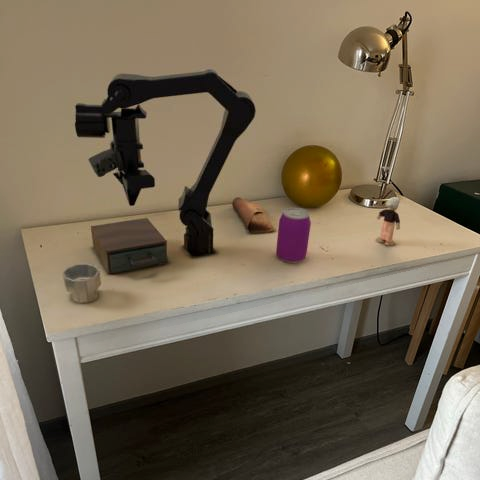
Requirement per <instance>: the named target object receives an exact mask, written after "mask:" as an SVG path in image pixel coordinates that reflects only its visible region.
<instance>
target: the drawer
mask: <svg viewBox="0 0 480 480" xmlns="http://www.w3.org/2000/svg"><path fill="white" fill-rule="evenodd" d="M109 256H110V265H111V271H112V274H115V273H114V272H118V273H121V272H120V271H123V272H126V271H125V270H128V271H131V270H130V269H133V270H136V269H135V268H138V269H142V268H141V267H144V268H147V267H146V266H149V267H152V266H151V265H154V266H157V265H156V264H159V265H162V264H161V263H164V264H168V263H167V262H168V253H167V254H166V246H165V245H156V246H150V247H144V248H139V249H133V250H127V251H121V252H116V253H110V254H109Z"/></svg>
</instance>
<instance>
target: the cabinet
mask: <svg viewBox="0 0 480 480" xmlns="http://www.w3.org/2000/svg"><path fill="white" fill-rule="evenodd" d="M90 232H91V239H92V248H93V250H94V251H95V253H96V255H97V257H98V258H99V260H100V262H101V263H102V265H103V267H104V268H105V270H106V272H107V274H108V275H112V274H117V273H122V272H127V271H128V272H129V271H132V270H138V269H139V268H135V269H130V270H125V271H120V272H114V273H112V271H111V265H110V256H109V254H110V253H116V252H121V251H127V250H133V249H139V248H144V247H150V246H156V245H165V246H166V254H167V255H168V241H167V240H166V238H165V237H164V236H163V234H161V232H160V231H159V230H158V228H157V227H155V225H154V224H153V223H152V221H150V220H149V218H148V217H143V218H136V219H129V220H123V221H116V222H110V223H104V224H103V223H102V224H95V225H91V226H90ZM168 263H169V262H168V261H167V263H166V264H168ZM158 265H165V263H161V264H156V265H151V266H146V267H141V268H140V269H143V268H149V267H153V266H154V267H155V266H158Z"/></svg>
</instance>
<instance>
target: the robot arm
mask: <svg viewBox="0 0 480 480" xmlns="http://www.w3.org/2000/svg"><path fill="white" fill-rule="evenodd" d="M106 90H107V91H106V92H107V97H106V98H104V99H103V101H102V102H101V104H86V103H83V102H82V103H81V102H77V103H76V104H75V105H74V107H75V122H74V130H75V133H76V137H77V138H82V139H83V138H86V139H88V138H91V139H105V138H106V135H107V134H110V132H112V140H111V141H110V143H109V148H108V149H105V150H103V151H101V152H99V153H97V154H95V155H92V156H91V157H89V158H88V162H89V165H90V167H91V168H92V170H93V172H94V174H96V176H97V177H98V178H102V177H104V176H106V174H108V173H111V172H113V171H114V170H115V171H116V172H113V173H112V175H113V176H114V177H115V178H116V180H117V181H118V182H119V183H120V184H121V185H122V189H123V191H124V194H125V197H126V200H127V203H128V206H130V207H133V206H135V205H136V203H137V200H138V198H139V195H140V193H141V191H142V190H144V189H152V188H155V187H156V181H155V179H156V178H155V177H154V176H153V174H151V173H150V172H149V171H148V170H147V169H144V168H145V163H144V162H143V161H142V155H141V152H142V151H141V150H144V147H143V146H144V145H143V144H142V143H141V141H140V140H141V139H140V125H139V124H140V123H139V119H141V120H142V119H143V120H145V119H146V118H147V116H148V112H147V111H146V110H145V109H143V107H142V106H141V104H143V103H145V102H148V101H150V100H153V99H158V98H168V97H169V98H170V97H177V96H186V95H194V94H204V93H208V94H209V95H210V96H211V97H212V98H214V100H215V101H216V102H217V103H219V104H220V105H221V106H222V108H223V109H224V112H223V116H222V119H221V120H222V121H221V126H220V129H219V131H218V134H217V136H216V137H215V140H214V142H213V145H212V147H211V148H210V151H209V153H208V155H207V157H206V159H205V161H204V164H203V165H202V168H201V170H200V172H199V174H198V176H197V179H196V181H195V182H194V183H193V185H192V186H191V187H188V186H186V185H185V186H184V188H183V192H182V194H181V196H180V197H179V198H178V211H179V220H180V222H181V223H182V224H183V226H185V232H184V234H183V248H184V250H185V251H186V252H187V253H188V254H189V256H191V257H192V258H198V257H204V256H208V255H213V254H217V251H216V249H214V227H213V224H212V214H211V213H210V211H209V210H207V207H208V203H209V198H210V195H211V192H212V190H213V189H214V186H215V184H216V182H217V180H218V178H219V176H220V173H221V171H222V169H223V168H224V165H225V164H226V162H227V160H228V157H229V155H230V153H231V151H232V149H233V147H234V145H235V143H236V141H237V140H238V139H239V138H240V137H241V136H242V135H243V134H244V133H245V132H246V130H247V129H248V127H249V125H251V123H252V122H253V120H254V119H255V117H256V114H257V113H256V112H257V110H256V105H255V103H254V101H253V99H252V97H251V96H250V94H248V93H247V92H246V91H242V90H237V89H236V88H235V87H233V86H232V85H231V84H230V83H229V82H227V81H226V80H225V79H224V78H222V77H221V76H220V75H219V73H218V72H217V71H216V70H214V69H212V68H211V69H206V70H203V71H193V72H184V73H183V72H182V73H175V74H174V73H173V74H167V75H166V74H165V75H158V76H157V75H156V76H146V75H141V74H135V73H133V74H132V73H118V74H116V75H115V76H113V77H112V79H111V81H110V82H109V84H108V86H107V89H106ZM118 109H120V111H116V110H118ZM110 119H111V122H110ZM111 129H112V131H111Z"/></svg>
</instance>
